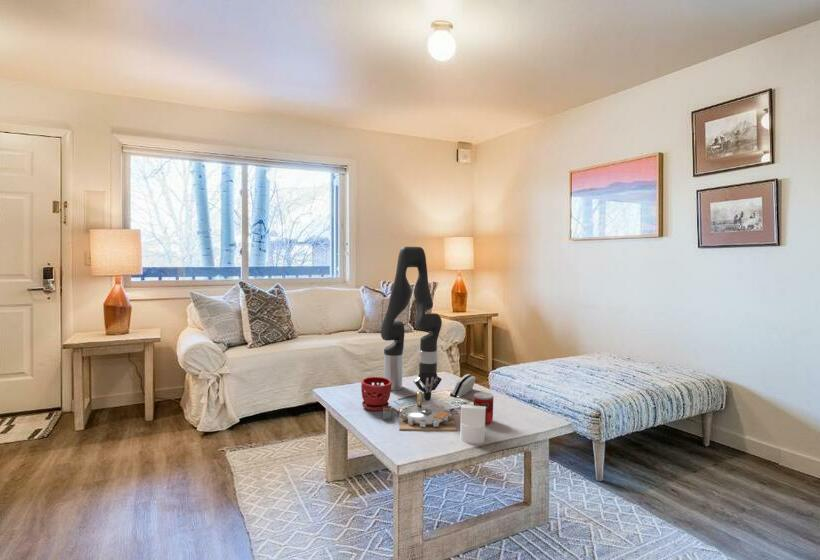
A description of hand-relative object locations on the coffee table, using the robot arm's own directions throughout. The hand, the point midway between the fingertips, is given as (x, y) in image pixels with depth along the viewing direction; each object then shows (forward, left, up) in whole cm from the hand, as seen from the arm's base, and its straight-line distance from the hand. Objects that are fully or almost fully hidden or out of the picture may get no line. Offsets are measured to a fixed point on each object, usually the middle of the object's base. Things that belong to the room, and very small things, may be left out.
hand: (427, 400), depth 200 cm
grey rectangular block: (+7, -17, -5) cm, 19 cm away
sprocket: (+9, -1, -5) cm, 11 cm away
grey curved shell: (-26, +19, -5) cm, 33 cm away
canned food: (+10, +22, -5) cm, 25 cm away
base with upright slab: (+27, +15, -5) cm, 32 cm away
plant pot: (-5, -22, -5) cm, 23 cm away
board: (+9, -1, -5) cm, 11 cm away
